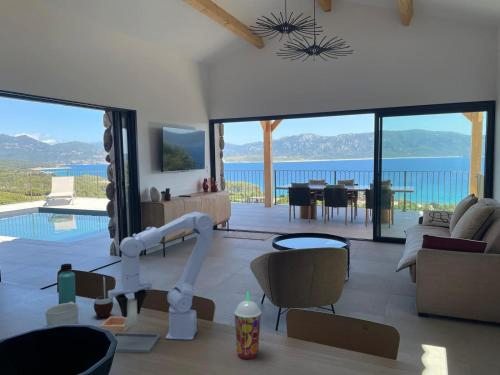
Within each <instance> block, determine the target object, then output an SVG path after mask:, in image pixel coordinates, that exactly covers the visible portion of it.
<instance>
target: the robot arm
mask: <svg viewBox="0 0 500 375" xmlns="http://www.w3.org/2000/svg"><path fill="white" fill-rule="evenodd" d="M214 226H215V222H214V221H213V219H212V216H211V215H210V214H209V213H206V212H205V213H203V212H200V211H191V212H190V213H186V214H184V215H182V216H179V217H178V218H176V219H174V220H171V221H170V222H167V223H166V224H164V225H162V226H161V227H159V228H157V227H155V226H148V227H146V228H145V230H143V231H141V232H139V233H137V234H136V233H133V234H132V236H128V237H125V238H123V239H122V240H121V242H120V243H119V244H120V245H119V251H120V252H121V286H120V287H117V288H114V289H110V290H107V296H108V297H109V298H112V299H113V298H114V299H115V300H116V301H117V303H118V306H119V308H120V312H121V317H127V301H128V299H129V298H128V297H127V295H129V294H133V296H134V298H135V299H137V315H139V314H140V313H141V311H142V305H143V302H144V301H145V298H146V297H147V293H148V292H147V291H148V290H149V291H150V290H151V291H152V290H153V283H151V282H143V283H141V282H140V281H141V280H140V279H141V274H140V268H141V266H140V265H141V264H140V263H141V262H140V254H141V252H142V251H144V250H147V249H148V248H150V247H151V248H152V247H153V246H155V245H157V244H159V243H161V241H162V239H163V238H164V237H165V236H168V235H171V234H173V233H175V232H178V231H179V230H182V229H190V230H192V231H193V233H194V234H195V237H196V239H197V240H196V242H195V245H194V247H193V249H192V251H191V253H190V256H189V258H188V260H187V263H186V264H185V267H184V269H183V272H182V274H181V276H180V278H179V280H178V281H176V282H175V283H174V285H173V287H172V288H171V290H169V291H168V293H167V296H166V299H167V300H166V301H167V302H168V304H169V308H168V333H167V334H166V336H165V339H166V340H188V341H189V340H190V341H191V340H193V339H194V337H195V335H196V333H197V331H198V329H197V328H198V326H197V325H198V323H197V321H198V320H197V318H198V317H197V311H196V310H195V309H191V307H192V306H193V297H194V295H195V294H194V292H195V290H194V285H195V283H196V280H198V276H199V274H200V272H201V269H202V267H203V265H204V262H205V260H206V258H207V255H208V253H209V251H210V249H211V246H212V244H213V241H214ZM146 290H147V291H146Z"/></svg>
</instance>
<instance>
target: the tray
mask: <svg viewBox="0 0 500 375" xmlns="http://www.w3.org/2000/svg"><path fill="white" fill-rule="evenodd" d="M114 335H115V337H116V338H117V340H118V346H117V350H116V352H115V353H126V354H128V353H129V354H150V353H151V351H152V350H153V349H154V347H155V346H156V345H157V343H158V341H159V340H160V338H161V333H151V332H150V333H149V332H147V333H146V332H145V333H144V332H143V333H141V332H125V333H116V332H115V333H114Z"/></svg>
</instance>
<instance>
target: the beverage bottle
mask: <svg viewBox="0 0 500 375" xmlns="http://www.w3.org/2000/svg"><path fill="white" fill-rule="evenodd" d="M72 269H73V266H72V263H62V264H61V265H60V271H62V272H60V273H59V274H58V275H57V278H58V282H57V283H58V286H57V288H58V296H57V297H58V304H64V303H69V302H74V303H76V304H77V300H76V299H77V297H76V295H77V293H76V277H75V276H76V273H75V272H73V271H71V270H72Z"/></svg>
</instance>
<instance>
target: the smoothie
mask: <svg viewBox="0 0 500 375" xmlns="http://www.w3.org/2000/svg"><path fill="white" fill-rule="evenodd" d="M249 296H250V292H249V291H246V300H242V301H241V302H239V303H238V305H237V306H236V309H235V310H234V312H233V313H234V326H235V341H236V344H235V346H236V353H237V354H238V356H239V357H240V358H242V359H249V360H250V359H254V358H256V357H257V355H258V353H259V344H260V343H259V342H260V328H261V314H262V311H261V309H260V307H259V306H258V304H257V303H256V302H255V301H252V300H250V297H249Z"/></svg>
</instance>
